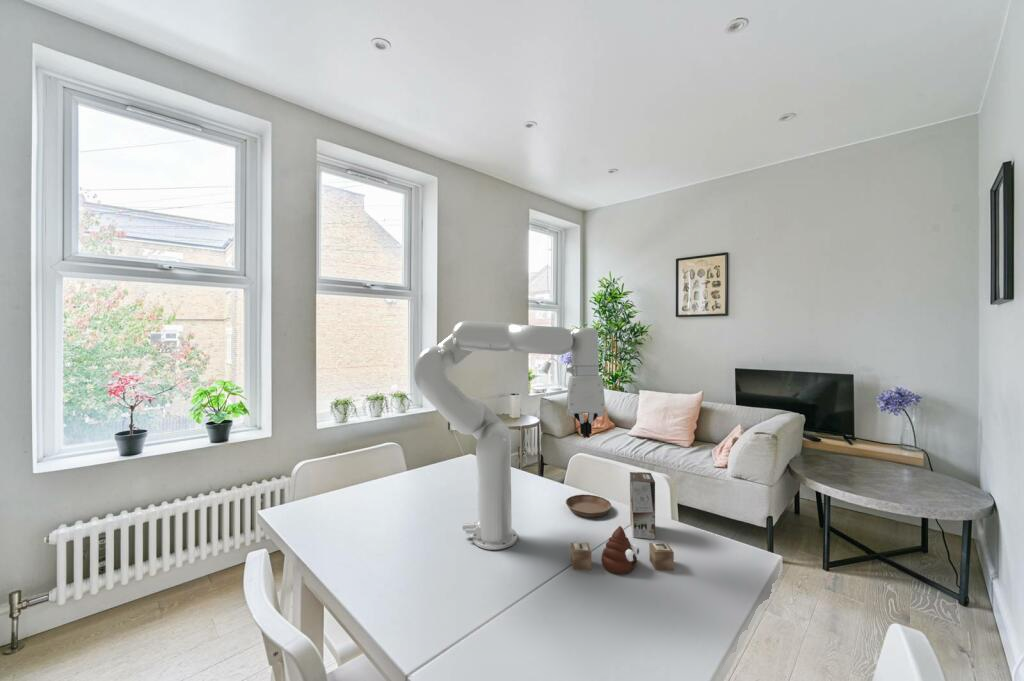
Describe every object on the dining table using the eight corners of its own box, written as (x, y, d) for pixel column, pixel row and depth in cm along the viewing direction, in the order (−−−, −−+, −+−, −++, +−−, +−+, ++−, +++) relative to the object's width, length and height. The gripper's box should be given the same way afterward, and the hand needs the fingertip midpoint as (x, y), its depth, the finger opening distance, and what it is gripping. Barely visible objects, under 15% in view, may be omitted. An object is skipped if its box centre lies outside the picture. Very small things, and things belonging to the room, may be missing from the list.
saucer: (620, 513, 135) (620, 504, 135) (588, 524, 126) (588, 516, 126) (588, 498, 147) (588, 491, 147) (556, 508, 138) (556, 500, 138)
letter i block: (573, 570, 102) (572, 550, 102) (570, 560, 106) (570, 541, 106) (591, 570, 101) (591, 550, 101) (588, 560, 106) (588, 541, 106)
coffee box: (656, 539, 116) (655, 482, 116) (632, 537, 117) (631, 481, 117) (651, 525, 125) (651, 472, 125) (629, 523, 126) (629, 471, 126)
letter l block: (655, 570, 101) (655, 550, 101) (649, 560, 105) (649, 541, 105) (673, 570, 101) (673, 550, 101) (667, 560, 105) (667, 541, 105)
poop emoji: (611, 551, 110) (610, 516, 110) (643, 561, 105) (642, 524, 105) (595, 568, 102) (595, 531, 102) (629, 580, 97) (629, 540, 97)
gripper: (559, 373, 113) (560, 440, 113) (614, 372, 113) (615, 439, 113) (557, 370, 120) (558, 433, 120) (609, 370, 120) (609, 433, 120)
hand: (585, 436), depth 117 cm, fingers closed
